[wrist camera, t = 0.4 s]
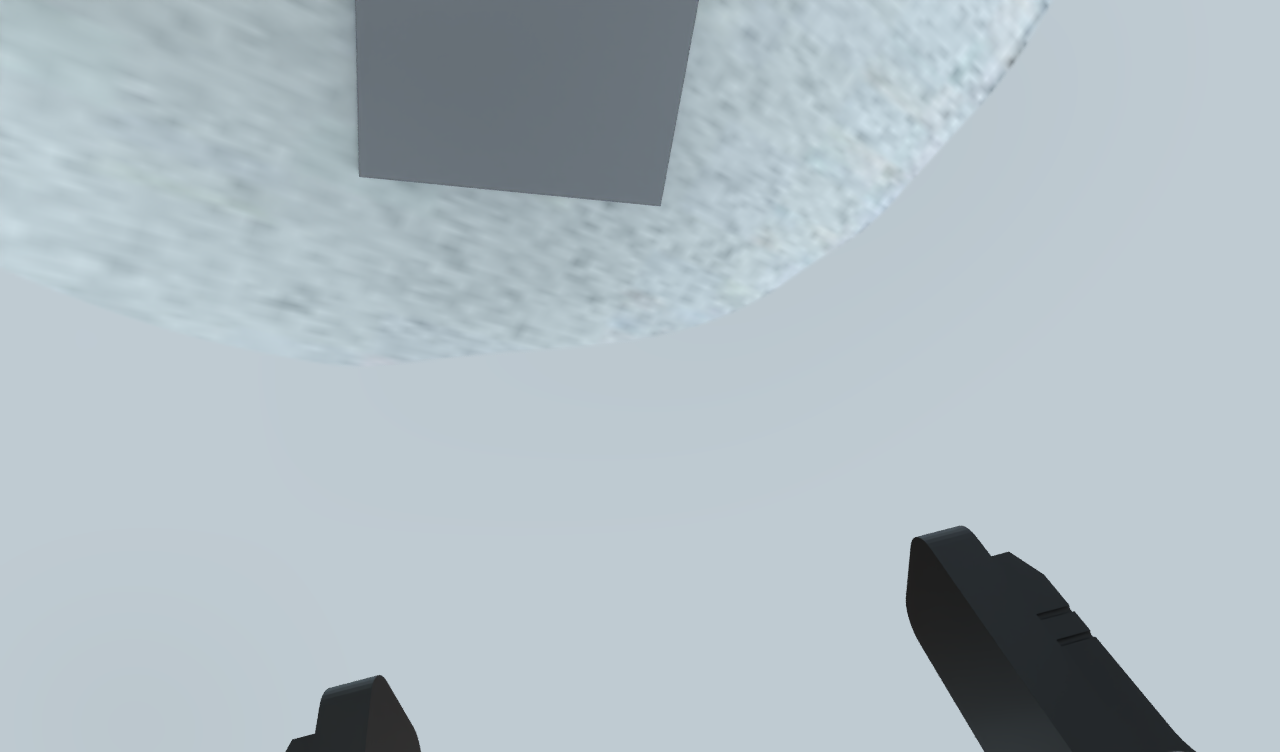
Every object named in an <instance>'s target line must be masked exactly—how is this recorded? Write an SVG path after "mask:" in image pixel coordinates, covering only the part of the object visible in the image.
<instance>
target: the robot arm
mask: <svg viewBox="0 0 1280 752" xmlns="http://www.w3.org/2000/svg"><path fill="white" fill-rule="evenodd" d="M906 607H907V613H908V617H909V620H910V623H911V626H912V628H913V631H914V633H915V636H916V637H917V639H918V641H919V643H920V645H921V646H922V648H923V650H924V651H925V653H926V655H927V656H928V658H929V660H930V661H931V663H932V664H933V666H934V668H935V670H936V672H937V673H938V675H939V677H940V678H941V679H942V681H943V683H944V685H945V687H946V688H947V690H948V691H949V693H950V695H951V697H952V698H953V700H954V702H955V703H956V705H957V707H958V708H959V710H960V712H961V713H962V715H963V717H964V718H965V720H966V722H967V723H968V725H969V727H970V728H971V730H972V732H973V733H974V735H975V737H976V738H977V740H978V742H979V743H980V745H981V747H982V749H983V750H984V752H1196V751H1194V750H1193V749H1192V748H1191V747H1190V746H1188V745H1187V744H1186V743H1185V742H1184V741H1183V740H1182V739H1181V738H1180V737H1179V736H1178V735H1177V734H1176V733H1175V732H1174V731H1173V729H1172V728H1171V727H1170V726H1169V725H1168V723H1166V721H1165V720H1164V719H1163V717H1162V716H1161V715H1160V714H1159V712H1158V711H1157V710H1156V709H1155V708H1154V707H1153V705H1152V704H1151V703H1150V702H1149V701H1148V699H1147V698H1146V697H1145V696H1144V694H1143V693H1142V692H1141V691H1140V690H1139V688H1138V687H1137V686H1136V685H1135V684H1134V682H1133V681H1132V680H1131V679H1130V678H1129V676H1128V675H1127V674H1126V673H1125V672H1124V670H1123V669H1122V668H1121V667H1120V666H1119V664H1118V663H1117V662H1116V661H1115V660H1114V658H1113V657H1112V656H1111V655H1110V654H1109V652H1108V651H1107V650H1106V649H1105V648H1104V646H1103V645H1102V644H1101V643H1100V642H1099V640H1098V639H1097V638H1096V637H1093V636H1092V635H1091V633H1090V630H1089V628H1088V627H1087V626H1086V625H1085V623H1084V622H1083V621H1082V620H1081V619H1080V617H1079V616H1078V615H1077V614H1076V613H1075V612H1072V611H1071V610H1070V608H1069V604H1068V603H1067V602H1066V601H1065V599H1064V598H1063V597H1062V596H1061V595H1060V593H1059V592H1058V591H1057V590H1056V589H1055V587H1054V586H1053V585H1052V584H1051V583H1050V581H1049V580H1048V579H1047V578H1046V577H1045V575H1044V574H1042V573H1040V572H1039V571H1038V570H1036V569H1034V568H1033V567H1032V566H1030V565H1028V564H1027V563H1025V562H1024V561H1022V560H1021V559H1019V558H1018V557H1016V556H1015V555H1013V554H1012V553H1010V552H1006V553H1002V554H998V555H995V556H990V554H989V553H988V551H987V550H986V549H985V548H984V546H983V545H982V544H981V542H980V541H979V540H978V539H977V537H976V536H975V535H974V534H973V533H972V532H971V531H970V530H969V529H968V528H966V527H964V526H957V527H953V528H949V529H945V530H941V531H937V532H934V533H930V534H926V535H922V536H919V537H915V538H914V539H913V540H912V542H911V548H910V559H909V571H908V580H907V591H906ZM286 752H421V750H420V745H419V741H418V737H417V734H416V732H415V729H414V727H413V726H412V724H411V722H410V720H409V719H408V717H407V715H406V714H405V712H404V710H403V708H402V707H401V705H400V703H399V701H398V700H397V698H396V696H395V695H394V693H393V691H392V689H391V688H390V686H389V684H388V683H387V681H386V679H385V678H384V677H383V676H381V675H378V676H374V677H370V678H366V679H363V680H359V681H355V682H351V683H347V684H343V685H339V686H336V687H332V688H328V689H327V690H326V691H325V692H324V694H323V696H322V698H321V702H320V707H319V713H318V719H317V725H316V731H315V734H312V735H308V736H304V737H301V738H297V739H293V740H292V741H291V743H290V745H289V746H288V749H287V750H286Z"/></svg>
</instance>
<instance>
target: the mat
mask: <svg viewBox="0 0 1280 752" xmlns="http://www.w3.org/2000/svg"><path fill="white" fill-rule="evenodd" d="M698 2H699V0H356V48H357V97H358V145H359V177H367V178H378V179H388V180H398V181H408V182H418V183H429V184H439V185H449V186H459V187H469V188H480V189H490V190H500V191H510V192H520V193H531V194H541V195H551V196H561V197H571V198H582V199H592V200H602V201H612V202H622V203H633V204H643V205H653V206H661V200H662V195H663V190H664V184H665V179H666V173H667V168H668V163H669V157H670V152H671V147H672V141H673V136H674V131H675V125H676V120H677V114H678V109H679V104H680V98H681V93H682V88H683V82H684V77H685V72H686V66H687V61H688V55H689V50H690V45H691V39H692V34H693V29H694V23H695V18H696V13H697V7H698Z"/></svg>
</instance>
